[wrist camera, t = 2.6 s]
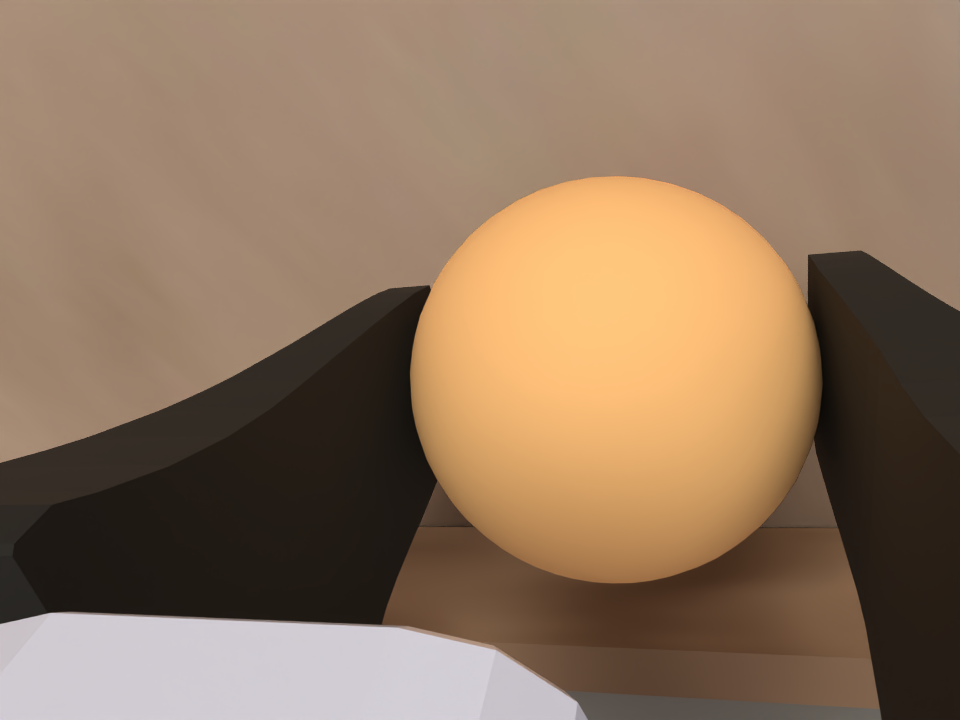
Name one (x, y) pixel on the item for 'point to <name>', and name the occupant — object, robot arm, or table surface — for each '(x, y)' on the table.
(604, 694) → the cradle
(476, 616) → the fence
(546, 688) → the robot arm
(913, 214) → the table surface
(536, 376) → the ball
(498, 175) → the table surface
